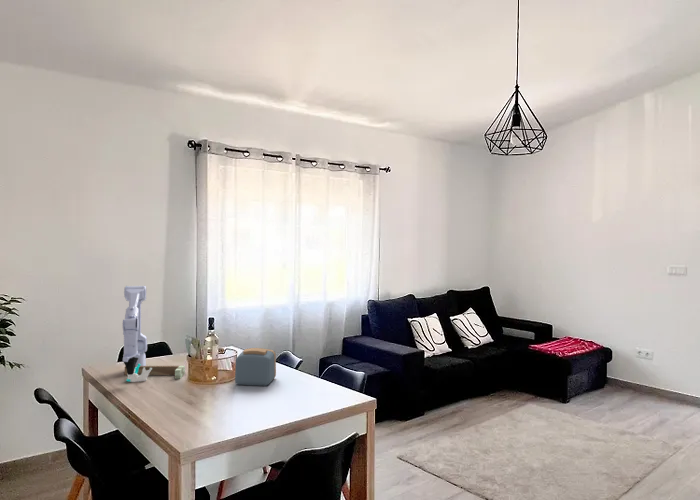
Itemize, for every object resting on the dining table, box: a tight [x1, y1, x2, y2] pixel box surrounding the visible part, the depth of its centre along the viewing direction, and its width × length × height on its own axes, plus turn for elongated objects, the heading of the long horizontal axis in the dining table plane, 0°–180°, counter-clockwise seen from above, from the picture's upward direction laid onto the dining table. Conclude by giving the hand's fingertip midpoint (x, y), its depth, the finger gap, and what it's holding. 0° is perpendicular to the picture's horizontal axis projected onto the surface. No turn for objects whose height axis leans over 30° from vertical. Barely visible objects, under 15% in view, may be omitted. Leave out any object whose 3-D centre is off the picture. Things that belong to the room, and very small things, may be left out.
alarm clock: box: [234, 347, 277, 387], centre depth 253 cm, size 16×16×16 cm
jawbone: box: [126, 364, 152, 383], centre depth 253 cm, size 12×8×9 cm, turn 54°
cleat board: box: [124, 365, 186, 380], centre depth 260 cm, size 10×28×4 cm, turn 94°
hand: (130, 374), depth 244 cm, fingers closed
